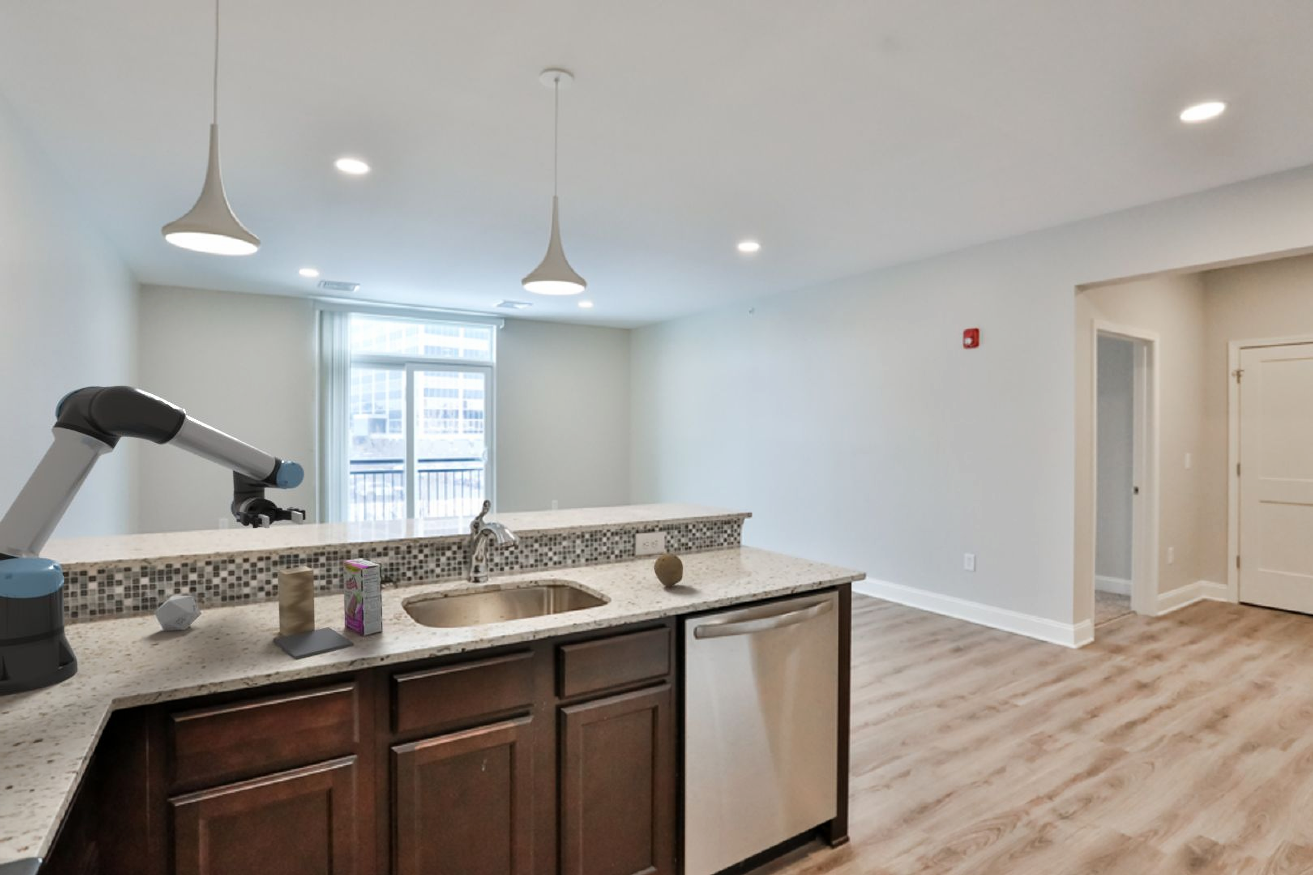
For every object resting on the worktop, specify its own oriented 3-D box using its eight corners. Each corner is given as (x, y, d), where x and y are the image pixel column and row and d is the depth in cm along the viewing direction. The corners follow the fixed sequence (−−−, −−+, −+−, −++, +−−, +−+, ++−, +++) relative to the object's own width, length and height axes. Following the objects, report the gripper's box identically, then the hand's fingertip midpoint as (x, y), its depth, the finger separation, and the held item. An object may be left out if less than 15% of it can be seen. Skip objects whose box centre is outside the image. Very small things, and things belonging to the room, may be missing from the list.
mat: (295, 659, 140) (295, 656, 140) (273, 641, 151) (273, 638, 151) (353, 645, 148) (353, 642, 148) (328, 629, 159) (328, 626, 159)
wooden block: (287, 637, 153) (285, 574, 153) (279, 632, 158) (278, 570, 157) (314, 631, 158) (313, 569, 157) (306, 626, 162) (305, 566, 161)
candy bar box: (343, 627, 161) (341, 560, 161) (363, 622, 165) (362, 557, 164) (362, 637, 154) (360, 567, 153) (383, 631, 157) (382, 563, 157)
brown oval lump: (657, 581, 203) (657, 549, 203) (686, 582, 202) (685, 550, 201) (651, 589, 194) (651, 555, 194) (681, 590, 193) (680, 556, 192)
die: (165, 639, 155) (194, 603, 158) (138, 619, 157) (167, 584, 159) (188, 640, 163) (215, 606, 166) (162, 622, 164) (190, 588, 167)
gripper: (299, 521, 186) (327, 530, 170) (216, 530, 172) (238, 541, 156) (298, 495, 186) (326, 501, 169) (215, 501, 172) (238, 509, 156)
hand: (284, 520), depth 163 cm, fingers open, 7 cm apart
